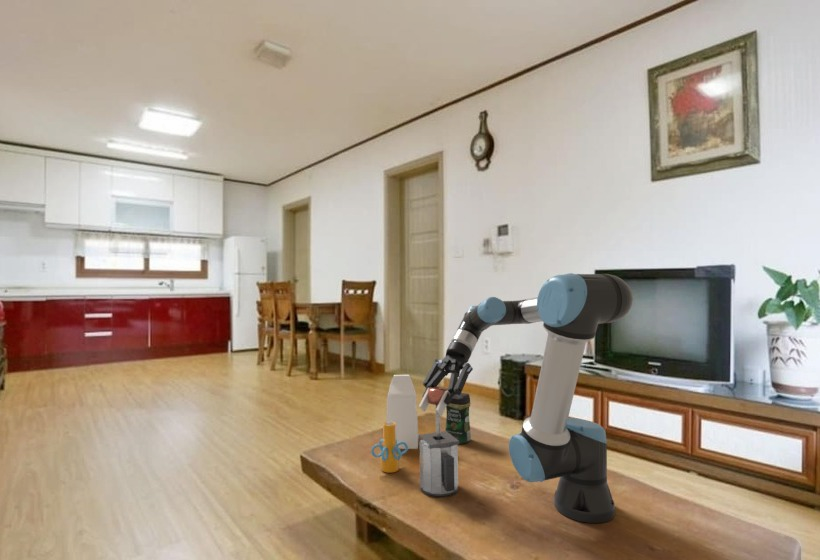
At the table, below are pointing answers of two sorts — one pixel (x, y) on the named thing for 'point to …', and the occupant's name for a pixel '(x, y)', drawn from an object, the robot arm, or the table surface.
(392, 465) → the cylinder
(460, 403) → the coffee jar
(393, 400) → the milk
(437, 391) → the plunger
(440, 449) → the press carafe
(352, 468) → the table surface
